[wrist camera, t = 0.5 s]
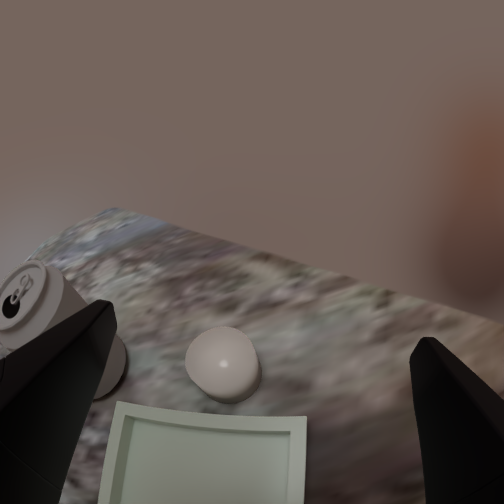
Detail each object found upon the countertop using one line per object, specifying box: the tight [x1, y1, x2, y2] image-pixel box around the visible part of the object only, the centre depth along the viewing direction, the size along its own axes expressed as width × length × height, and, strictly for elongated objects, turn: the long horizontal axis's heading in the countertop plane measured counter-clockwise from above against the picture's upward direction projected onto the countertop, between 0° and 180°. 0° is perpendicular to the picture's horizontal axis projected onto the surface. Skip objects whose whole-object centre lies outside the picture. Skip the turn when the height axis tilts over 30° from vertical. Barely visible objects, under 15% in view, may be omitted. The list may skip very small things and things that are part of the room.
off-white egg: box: [185, 327, 262, 404], centre depth 22 cm, size 5×5×4 cm
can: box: [0, 260, 126, 399], centre depth 21 cm, size 8×8×12 cm
